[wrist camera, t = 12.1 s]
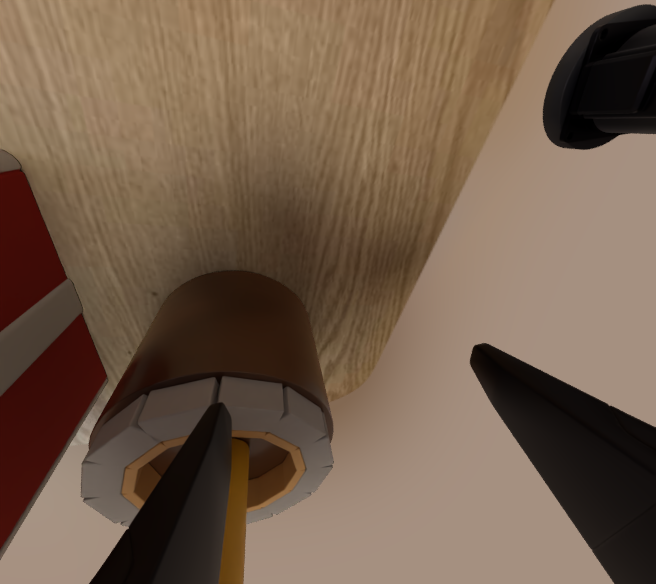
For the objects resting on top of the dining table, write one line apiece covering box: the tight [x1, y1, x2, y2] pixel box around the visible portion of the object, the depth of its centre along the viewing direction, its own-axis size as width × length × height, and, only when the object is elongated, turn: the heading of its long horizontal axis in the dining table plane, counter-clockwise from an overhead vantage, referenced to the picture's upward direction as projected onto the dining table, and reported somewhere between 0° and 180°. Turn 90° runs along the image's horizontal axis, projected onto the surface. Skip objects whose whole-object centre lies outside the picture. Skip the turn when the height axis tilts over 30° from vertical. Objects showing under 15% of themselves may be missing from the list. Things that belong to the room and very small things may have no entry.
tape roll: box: [81, 376, 334, 527], centre depth 14 cm, size 11×11×2 cm
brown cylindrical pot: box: [89, 271, 333, 480], centre depth 19 cm, size 12×12×10 cm
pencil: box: [219, 438, 249, 584], centre depth 11 cm, size 2×2×8 cm
